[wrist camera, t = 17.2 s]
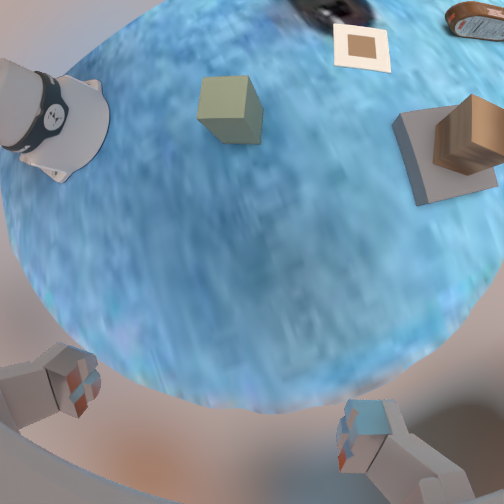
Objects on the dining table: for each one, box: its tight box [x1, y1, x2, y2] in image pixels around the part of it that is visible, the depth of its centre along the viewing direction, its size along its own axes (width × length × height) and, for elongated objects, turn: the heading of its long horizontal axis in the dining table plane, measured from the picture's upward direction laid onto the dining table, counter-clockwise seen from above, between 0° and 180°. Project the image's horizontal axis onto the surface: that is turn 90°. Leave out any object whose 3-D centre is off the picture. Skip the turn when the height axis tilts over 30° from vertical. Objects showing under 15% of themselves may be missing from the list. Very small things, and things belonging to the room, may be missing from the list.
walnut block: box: [433, 94, 504, 176], centre depth 25 cm, size 5×5×10 cm
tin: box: [445, 1, 504, 41], centre depth 27 cm, size 15×3×8 cm, turn 101°
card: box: [333, 24, 391, 74], centre depth 35 cm, size 8×8×1 cm
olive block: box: [197, 76, 263, 144], centre depth 34 cm, size 5×5×10 cm
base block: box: [392, 105, 498, 206], centre depth 32 cm, size 11×11×5 cm
